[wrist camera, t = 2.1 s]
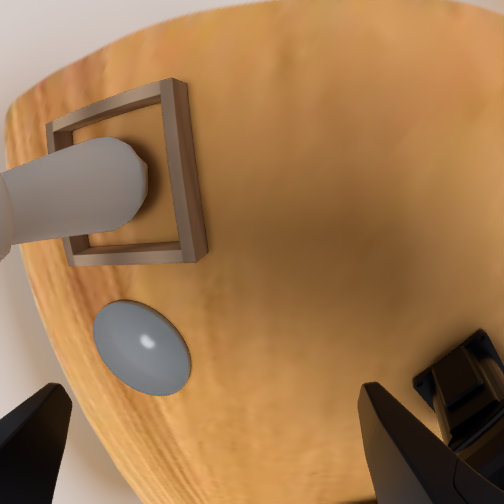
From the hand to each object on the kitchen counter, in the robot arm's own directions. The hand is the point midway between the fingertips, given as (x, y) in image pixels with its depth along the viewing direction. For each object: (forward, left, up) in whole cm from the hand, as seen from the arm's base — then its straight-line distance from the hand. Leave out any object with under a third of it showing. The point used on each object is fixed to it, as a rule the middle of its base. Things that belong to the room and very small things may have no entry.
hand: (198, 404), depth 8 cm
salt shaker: (+11, +3, -12) cm, 17 cm away
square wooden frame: (+11, +3, -12) cm, 16 cm away
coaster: (+2, +13, -12) cm, 18 cm away
